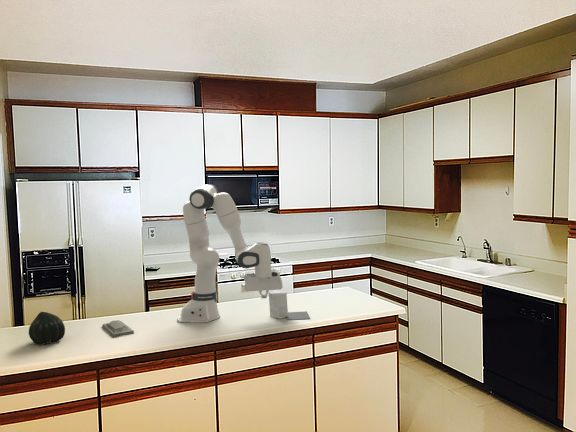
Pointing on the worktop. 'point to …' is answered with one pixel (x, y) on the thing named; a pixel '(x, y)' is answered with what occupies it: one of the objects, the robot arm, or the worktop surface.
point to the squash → (46, 328)
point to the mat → (297, 315)
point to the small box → (278, 304)
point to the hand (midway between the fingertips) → (264, 298)
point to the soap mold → (117, 328)
